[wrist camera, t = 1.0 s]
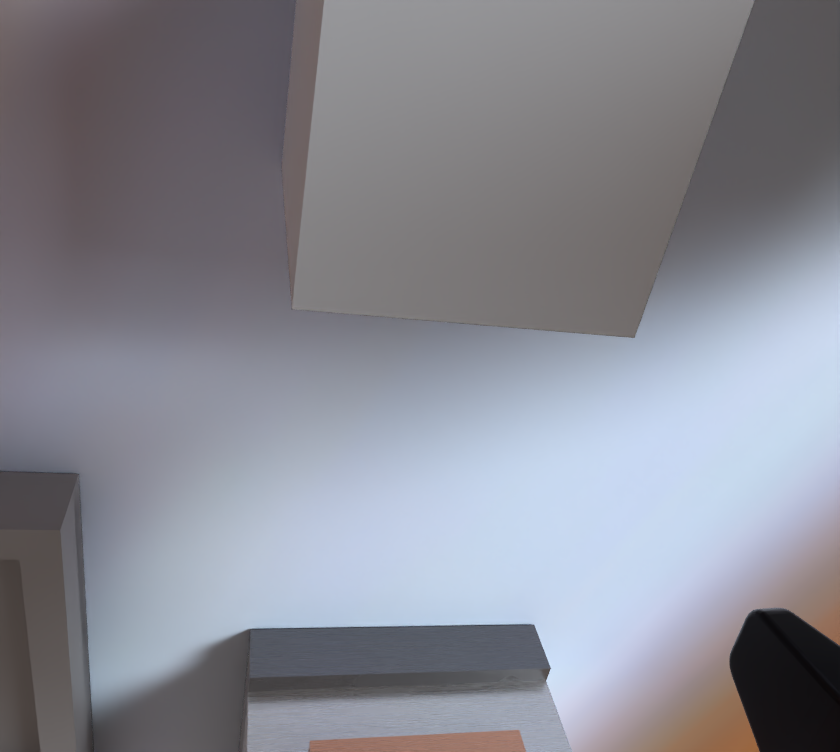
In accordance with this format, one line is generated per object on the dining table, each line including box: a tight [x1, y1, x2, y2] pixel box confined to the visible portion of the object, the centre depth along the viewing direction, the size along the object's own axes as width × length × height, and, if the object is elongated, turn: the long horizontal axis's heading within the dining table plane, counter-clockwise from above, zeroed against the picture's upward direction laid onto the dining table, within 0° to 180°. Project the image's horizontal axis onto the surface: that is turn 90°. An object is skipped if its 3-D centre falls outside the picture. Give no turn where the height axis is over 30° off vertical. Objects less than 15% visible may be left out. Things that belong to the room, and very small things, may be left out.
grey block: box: [281, 0, 755, 338], centre depth 11 cm, size 4×4×6 cm
